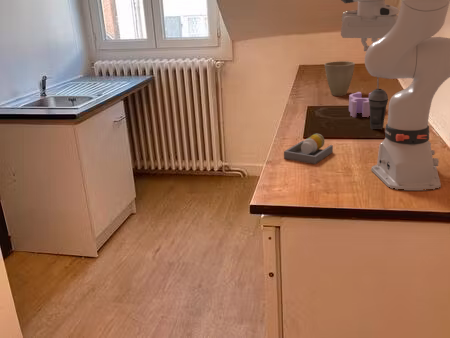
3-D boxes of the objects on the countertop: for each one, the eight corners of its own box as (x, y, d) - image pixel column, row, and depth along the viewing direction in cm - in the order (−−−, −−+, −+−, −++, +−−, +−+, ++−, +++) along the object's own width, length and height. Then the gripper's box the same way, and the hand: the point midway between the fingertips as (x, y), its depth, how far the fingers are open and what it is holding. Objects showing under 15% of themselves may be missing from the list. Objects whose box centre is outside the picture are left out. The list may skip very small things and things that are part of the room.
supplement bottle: (317, 150, 164) (305, 159, 157) (307, 138, 165) (295, 147, 158) (328, 142, 161) (316, 150, 154) (318, 130, 161) (306, 138, 154)
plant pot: (351, 90, 248) (352, 60, 242) (355, 97, 234) (357, 65, 228) (322, 91, 250) (323, 61, 244) (325, 98, 236) (326, 66, 230)
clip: (374, 118, 196) (375, 102, 194) (344, 117, 201) (344, 101, 199) (379, 107, 213) (380, 92, 211) (351, 106, 218) (352, 91, 216)
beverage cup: (373, 131, 179) (376, 79, 171) (363, 127, 185) (365, 76, 178) (390, 129, 180) (393, 77, 173) (379, 124, 187) (382, 74, 180)
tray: (302, 147, 167) (302, 140, 166) (332, 152, 160) (332, 145, 159) (284, 158, 157) (283, 151, 156) (315, 164, 150) (315, 156, 149)
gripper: (338, 11, 163) (337, 51, 168) (397, 9, 151) (394, 53, 156) (345, 10, 167) (344, 49, 172) (403, 8, 156) (400, 50, 160)
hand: (368, 51), depth 164 cm, fingers closed
